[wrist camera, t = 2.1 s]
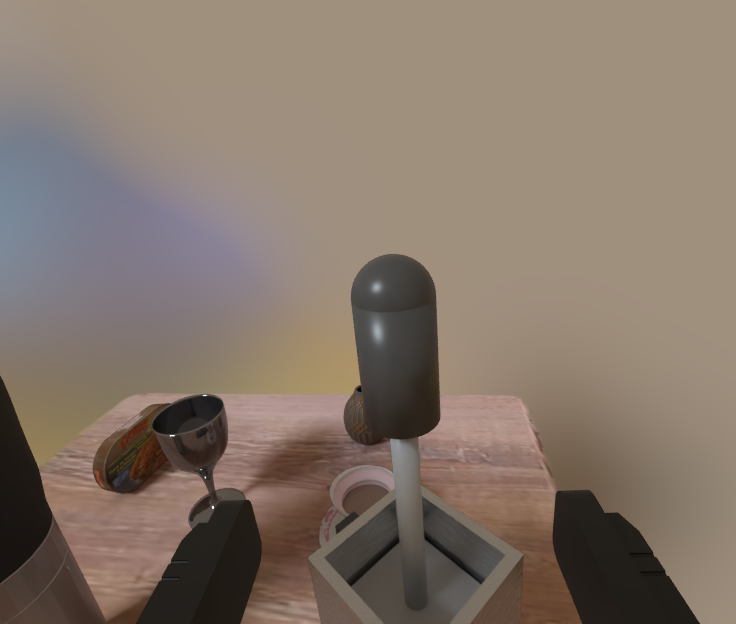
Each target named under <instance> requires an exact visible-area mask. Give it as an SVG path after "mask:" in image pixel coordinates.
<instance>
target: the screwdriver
mask: <svg viewBox="0 0 736 624" xmlns="http://www.w3.org/2000/svg"><path fill="white" fill-rule="evenodd" d="M351 304H352V313H353V321H354V329H355V339H356V347H357V356H358V363H359V373H360V381H361V390H362V399H363V407H364V416H365V422H366V424H367V426H368V427H369V429H370V430H371V431H373V432H374V433H376V434H378V435H380V436H382V437H386V438H390V443H391V454H392V465H393V476H394V487H395V497H396V508H397V519H398V530H399V541H400V542H399V543H398V544H397V545H396V546H395V547H394V548H392V549H391V550H390V551H389V552H388V553H387V554H386V555H385V556H384V557H383V558H382V559H381V560H379V561H378V562H377V563H376V564H375V565H374V566H373V567H372V568H371V569H370V570H369V571H368V572H366V573H365V574H364V575H363V576H362V577H361V578H360V579H359V580H358V581H357V582H356V583H355V584H353V585H352V586H351V588H352V589H353V590H354V591H355V592H356V593H357V595H358V596H359V597H360V598H361V599H362V600H363V601H364V602H365V603H366V604H367V606H368V607H369V608H370V609H371V610H372V611H373V612H374V613H375V614H376V615H377V616H378V618H379V619H380V620H381V621H382V622H383V623H384V624H450V622H451V621H452V620H453V619H454V617H455V616H456V615H457V614H458V613H459V611H460V610H461V609H462V608H463V606H464V605H465V604H466V603H467V602H468V600H469V599H470V598H471V597H472V595H473V594H474V593H475V592H476V591H477V589H478V588H479V587H480V586H481V584H480V583H478V582H477V581H476V580H475V579H473V578H472V577H471V576H470V575H468V574H467V573H466V572H465V571H463V570H462V569H461V568H460V567H458V566H457V565H456V564H455V563H453V562H452V561H451V560H450V559H448V558H447V557H446V556H445V555H443V554H442V553H441V552H440V551H438V550H437V549H436V548H435V547H433V546H432V545H431V544H430V543H428V542H427V541H426V540H425V539H424V526H423V509H422V493H421V477H420V461H419V444H418V437H419V436H422V435H425V434H427V433H428V432H430V431H431V430H433V429H434V428H435V427H436V426H437V424H438V423H439V420H440V391H439V363H438V336H437V309H436V290H435V286H434V282H433V280H432V278H431V276H430V274H429V272H428V271H427V270H426V269H425V267H424V266H422V265H421V264H420V263H419V262H417V261H416V260H414V259H412V258H410V257H408V256H405V255H399V254H388V255H383V256H380V257H377V258H375V259H373V260H371V261H370V262H368V263H367V264H366V265H365V266H364V267H363V268H362V269H361V270H360V271H359V273H358V274H357V276H356V278H355V280H354V282H353V286H352V290H351Z"/></svg>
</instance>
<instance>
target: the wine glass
mask: <svg viewBox="0 0 736 624" xmlns="http://www.w3.org/2000/svg"><path fill="white" fill-rule="evenodd" d="M152 429H153V432H154V435H155V438H156V440H157V443H158V445H159V447H160V449H161V450H162V452H163V454H164V456H165V457H166V458H167V460H168V461H169V462H170V463H171V464H172V465H173V466H174V467H175V468H177V469H179V470H182V471H185V472H189V473H193V474H196V475H198V476H200V477H201V478H202V480H203V481H204V483H205V485H206V487H207V489H208V492H209V493H208V494H207V495H205V496H204V497H202V498H201V499H200V500H199V501H198V502H197V503H196V504H195V505H194V506H193V508H192V509H191V511H190V514H189V519H188V521H189V525H190V527H191V528H192V529H193V528H194V527H195V526H196V525H197V524H198V523H207V522H208V521H209V519H210V517H211V515H212V513H213V511H214V509H215V507H216V506H217V504H218V503H219V502H220V501H226V500H245V497H244V495H243V493H242V492H240V491H239V490H237V489H234V488H223V489H218V490H215V487H214V481H213V471H214V468H215V466H216V464H217V463H218V461H219V460H220V458H221V457H222V455H223V454H224V452H225V450H226V447H227V443H228V422H227V416H226V411H225V407H224V404H223V401H222V399H221V398H220V397H218V396H215V395H211V394H200V395H193V396H189V397H185V398H182V399H180V400H177V401H175V402H173V403H171V404H169V405H168V406H166V407H164V408H163V409H162V410H160V411H159V412H158V413H157V414H156V416H155V417H154V418H153V420H152Z"/></svg>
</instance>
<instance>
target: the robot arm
mask: <svg viewBox="0 0 736 624" xmlns="http://www.w3.org/2000/svg"><path fill="white" fill-rule="evenodd" d="M553 545H554V551H555V555H556V558H557V561H558V564H559V567H560V569H561V572H562V574H563V577H564V579H565V581H566V584H567V586H568V589H569V591H570V594H571V596H572V599H573V601H574V604H575V606H576V609H577V611H578V614H579V616H580V619H581V621H582V623H583V624H700V623H699V622H698V620H697V619H696V617H695V616H694V614H693V613H692V611H691V609H690V608H689V606H688V605H687V603H686V602H685V600H684V599H683V597H682V596H681V594H680V593H679V591H678V590H677V588H676V587H675V585H674V583H673V582H672V580H671V579H670V577H669V576H667V575H666V573H665V570H664V568H663V567H662V565H661V564H660V562H659V561H658V559H657V558H656V557H654V555H653V551H652V550H651V548H650V547H649V546H648V544H647V542H646V541H645V539H644V538H643V536H642V535H641V533H640V532H639V531H638V530H637V529H636V528H635V527H634V526H633V525H631V524H630V523H629V522H628V521H627V520H626V519H625V518H623V517H622V516H621V515H620V514H619V513H604V511H603V509H602V508H601V506H600V504H599V502H598V501H597V499H596V497H595V496H594V495H593V493H592V492H591V491H589V490H577V491H576V490H574V491H557V493H556V498H555V510H554V523H553ZM261 548H262V547H261V539H260V535H259V531H258V527H257V523H256V519H255V515H254V512H253V508H252V504H251V502H250V501H249V500H226V501H220V502H219V503H218V504H217V506H216V507H215V509H214V511H213V513H212V515H211V517H210V519H209V521H208V522H207V523H198V524H197V525H196V526H195V527H194V528H193V529H192V530H191V531H190V532H189V533H188V534H187V536H186V537H185V538H184V539H183V540H182V541H181V543H180V545H179V547H178V548H177V550H176V552H175V554H174V556H173V557H172V559H171V564H169V565H168V566H167V568H166V570H165V572H164V574H163V576H162V580H161V581H159V583H158V585H157V586H156V588H155V590H154V592H153V594H152V596H151V597H150V599H149V601H148V603H147V605H146V606H145V608H144V610H143V612H142V614H141V615H140V617H139V619H138V621H137V623H136V624H240V623H241V620H242V617H243V614H244V611H245V608H246V605H247V602H248V599H249V596H250V593H251V590H252V587H253V583H254V580H255V577H256V574H257V571H258V568H259V565H260V560H261ZM0 624H107V621H106V619H105V617H104V615H103V613H102V611H101V609H100V607H99V605H98V603H97V601H96V599H95V597H94V595H93V593H92V591H91V589H90V587H89V585H88V583H87V582H86V580H85V578H84V576H83V574H82V572H81V570H80V568H79V566H78V564H77V562H76V560H75V558H74V556H73V554H72V552H71V550H70V548H69V546H68V544H67V542H66V540H65V538H64V536H63V534H62V532H61V530H60V528H59V526H58V524H57V522H56V520H55V518H54V516H53V514H52V511H51V509H50V507H49V505H48V503H47V501H46V498H45V494H44V489H43V485H42V480H41V476H40V472H39V469H38V466H37V463H36V461H35V459H34V456H33V454H32V452H31V449H30V447H29V445H28V443H27V440H26V437H25V435H24V433H23V430H22V428H21V425H20V422H19V420H18V417H17V414H16V412H15V409H14V407H13V404H12V401H11V398H10V396H9V394H8V391H7V389H6V387H5V385H4V382H3V380H2V378H1V376H0Z"/></svg>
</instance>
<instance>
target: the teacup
mask: <svg viewBox="0 0 736 624" xmlns="http://www.w3.org/2000/svg"><path fill="white" fill-rule="evenodd" d="M327 488H328V489H329V490H330V491H329V496H330V498H331V501H332V503H333V505H332V506H331V507H330V508H329V510H328V511H327V512H326V514H325V515H324V517H323V520H322V523H321V526H320V528H319V543H320V546H321V547H322V546H323V545H324V544H326V543H327V542H328V541H329V540H331V539H332V538H333V537H334V536H336V529H335V526H336V525H337V524H338V523H340V522H341V521H342V520H343V519H345V518H346V517H347V516H349V515H350V514H351V513H352V512H356V513H357V514H358V515H359V516H360V515H362V514H363V513H364V512H365V511H367V510H368V509H369V508H370V507H372V506H373V505H374V504H375V503H377V502H378V501H379V500H380V499H382V498H383V497H384V496H385V495H387V494H388V493H389V492H390V491H392V490H393V489H394V488H395V487H394V476H393V472H391V471H390V470H388V469H385V468H383V467H379V466H373V465H363V466H356V467H353V468H350V469H347V470H345V471H343V472H342V473H340V474H339V475H338V476H337V477H336V478H335V479H334V480H333V482H332V484H331V485H330V486H327Z"/></svg>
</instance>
